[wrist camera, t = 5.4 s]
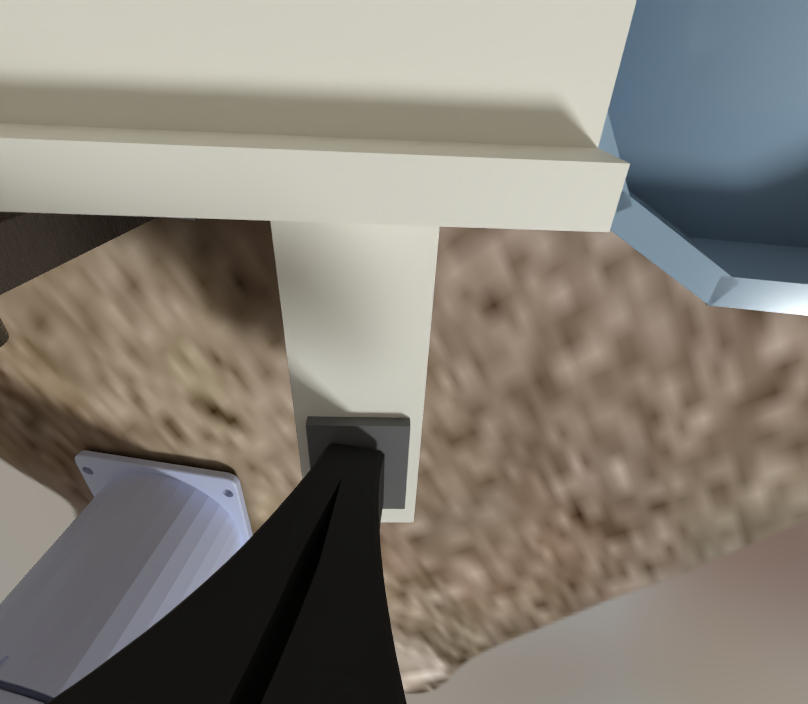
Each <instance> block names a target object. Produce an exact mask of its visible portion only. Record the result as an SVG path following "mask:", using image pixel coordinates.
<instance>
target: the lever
mask: <svg viewBox="0 0 808 704" xmlns="http://www.w3.org/2000/svg"><path fill="white" fill-rule="evenodd" d="M636 1H637V0H0V212H28V213H58V214H87V215H117V216H146V217H176V218H205V219H235V220H264V221H270V222H271V230H272V238H273V246H274V254H275V263H276V271H277V279H278V287H279V295H280V303H281V311H282V319H283V327H284V335H285V343H286V351H287V359H288V367H289V375H290V383H291V391H292V399H293V407H294V415H295V423H296V431H297V439H298V447H299V455H300V463H301V471H302V479H303V478H304V477H305V476H306V474H307V473H308V472H309V471H310V469H311V468H312V467H313V465H314V464H315V463H316V461H317V460H318V459H319V457H320V456H321V455H322V453H323V452H324V451H325V449H326V448H327V446H329V445H330V444H332V443H334V444H341V445H347V446H354V447H361V448H368V449H375V450H381V451H382V452H383V453H384V454H385V464H384V502H383V509H382V516H381V522H414V511H415V499H416V488H417V477H418V465H419V454H420V442H421V431H422V420H423V408H424V397H425V386H426V374H427V363H428V351H429V340H430V329H431V317H432V306H433V294H434V283H435V272H436V260H437V249H438V238H439V226H442V227H471V228H501V229H530V230H560V231H589V232H610V228H611V225H612V222H613V218H614V215H615V212H616V209H617V205H618V202H619V199H620V195H621V192H622V189H623V185H624V182H625V179H626V176H627V172H628V169H629V166H630V163H628V162H626V161H624V160H622V159H620V158H618V157H615V156H613V155H611V154H609V153H607V152H605V151H603V150H601V149H599V148H598V146H599V142H600V139H601V135H602V131H603V127H604V123H605V119H606V116H607V112H608V108H609V104H610V100H611V97H612V93H613V89H614V85H615V81H616V77H617V74H618V70H619V66H620V62H621V58H622V55H623V51H624V47H625V43H626V39H627V35H628V32H629V28H630V24H631V20H632V16H633V12H634V9H635V5H636Z"/></svg>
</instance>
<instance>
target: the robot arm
mask: <svg viewBox="0 0 808 704" xmlns="http://www.w3.org/2000/svg"><path fill="white" fill-rule="evenodd" d="M75 462H76V464H77V466H78V468H79V470H80V472H81V474H82V476H83V477H84V479H85V481H86V483H87V485H88V487H89V489H90V491H91V493H92V494H93V496H94V498H93V500H92V501H91V502H90V503H89V504H88V505H87V506H86V508H85V509H84V510H83V511H82V512H81V513H80V514H79V515H78V517H77V518H76V519H75V520H74V521H73V522H72V523H71V525H70V526H69V527H68V528H67V529H66V530H65V531H64V532H63V534H62V535H61V536H60V537H59V538H58V539H57V540H56V542H55V543H54V544H53V545H52V546H51V547H50V548H49V549H48V551H47V552H46V553H45V554H44V555H43V556H42V557H41V559H40V560H39V561H38V562H37V563H36V564H35V565H34V567H32V569H31V570H30V571H29V572H28V573H27V574H26V575H25V577H24V578H23V579H22V580H21V581H20V582H19V583H18V584H17V586H16V587H15V588H14V589H13V590H12V591H11V593H9V595H8V596H7V597H6V598H5V599H4V600H3V601H2V603H1V604H0V704H406V699H405V694H404V690H403V685H402V680H401V676H400V671H399V666H398V662H397V657H396V652H395V646H394V641H393V635H392V630H391V624H390V618H389V612H388V606H387V599H386V592H385V585H384V577H383V568H382V558H381V547H380V523H381V516H382V509H383V502H384V464H385V454H384V453H383V452H382V451H381V450H375V449H368V448H361V447H354V446H347V445H341V444H334V443H332V444H330V445H329V446H327V448H326V449H325V451H324V452H323V453H322V455H321V456H320V457H319V459H318V460H317V461H316V463H315V464H314V465H313V467H312V468H311V469H310V471H309V472H308V473H307V474H306V476H305V477H304V478H303V479H302V480H301V482H300V483H299V484H298V485H297V487H296V488H295V489H294V490H293V491H292V493H291V494H290V495H289V496H288V497H287V498H286V499H285V501H284V502H283V503H282V504H281V505H280V506H279V508H278V509H277V510H276V511H275V512H274V513H273V514H272V515H271V517H270V518H269V519H268V520H267V521H266V522H265V523H264V524H263V525H262V526H261V527H260V528H259V529H258V530H257V531H256V532H255V533H254V534H252V530H251V526H250V522H249V518H248V514H247V510H246V505H245V501H244V497H243V493H242V489H241V485H240V481H239V479H238V478H237V477H236V476H235V475H233V474H231V473H228V472H221V471H215V470H208V469H202V468H196V467H189V466H183V465H176V464H170V463H164V462H157V461H151V460H144V459H138V458H132V457H125V456H119V455H112V454H106V453H100V452H93V451H81V452H79V453H78V454H77V455H76V456H75Z"/></svg>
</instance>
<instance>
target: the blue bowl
mask: <svg viewBox="0 0 808 704" xmlns="http://www.w3.org/2000/svg"><path fill="white" fill-rule="evenodd" d="M598 148H599V149H601V150H603V151H605V152H607V153H609V154H611V155H613V156H615V157H618V158H620V159H622V160H624V161H626V162H628V163H630V166H629V169H628V172H627V176H626V179H625V182H624V185H623V189H622V192H621V195H620V199H619V202H618V205H617V209H616V212H615V215H614V218H613V222H612V225H611V228H610V230H611V231H612V232H614V233H615V234H616V235H617V236H619V237H620V238H621V239H623V240H624V241H625V242H627V243H628V244H629V245H631V246H632V247H633V248H635V249H636V250H637V251H638V252H640V253H641V254H642V255H644V256H645V257H646V258H648V259H649V260H650V261H652V262H653V263H654V264H655V265H657V266H658V267H659V268H661V269H662V270H663V271H665V272H666V273H667V274H669V275H670V276H671V277H673V278H674V279H675V280H676V281H678V282H679V283H680V284H682V285H683V286H684V287H686V288H687V289H688V290H690V291H691V292H692V293H693V294H695V295H696V296H697V297H699V298H700V299H701V300H703V301H704V302H705V303H706V304H707V305H709V306H720V307H730V308H739V309H749V310H759V311H768V312H778V313H787V314H797V315H807V316H808V0H637V1H636V5H635V9H634V12H633V16H632V20H631V24H630V28H629V32H628V35H627V39H626V43H625V47H624V51H623V55H622V58H621V62H620V66H619V70H618V74H617V77H616V81H615V85H614V89H613V93H612V97H611V100H610V104H609V108H608V112H607V116H606V119H605V123H604V127H603V131H602V135H601V139H600V142H599V146H598Z"/></svg>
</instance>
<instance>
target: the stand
mask: <svg viewBox="0 0 808 704" xmlns="http://www.w3.org/2000/svg"><path fill="white" fill-rule="evenodd" d="M154 218H156V217H146V216H117V215H87V214H58V213H28V212H0V295H1V294H3V293H5V292H7V291H9V290H11V289H13V288H15V287H17V286H19V285H21V284H23V283H25V282H27V281H29V280H31V279H33V278H35V277H37V276H39V275H41V274H43V273H45V272H47V271H49V270H51V269H53V268H55V267H57V266H59V265H61V264H64V263H66V262H68V261H70V260H72V259H74V258H76V257H78V256H80V255H82V254H84V253H86V252H88V251H90V250H92V249H94V248H96V247H98V246H100V245H102V244H104V243H106V242H108V241H110V240H112V239H114V238H116V237H118V236H120V235H122V234H124V233H126V232H128V231H130V230H132V229H134V228H136V227H138V226H140V225H142V224H144V223H146V222H148V221H150V220H152V219H154ZM163 218H174V219H184V220H194V221H196V220H198V219H200V218H176V217H163ZM8 338H9V334H8V332H7V330H6V328H5V326H4V324H3V322H2V321H1V319H0V347H1V346H3V345H4V344H5V343H6V342H7V340H8Z"/></svg>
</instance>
